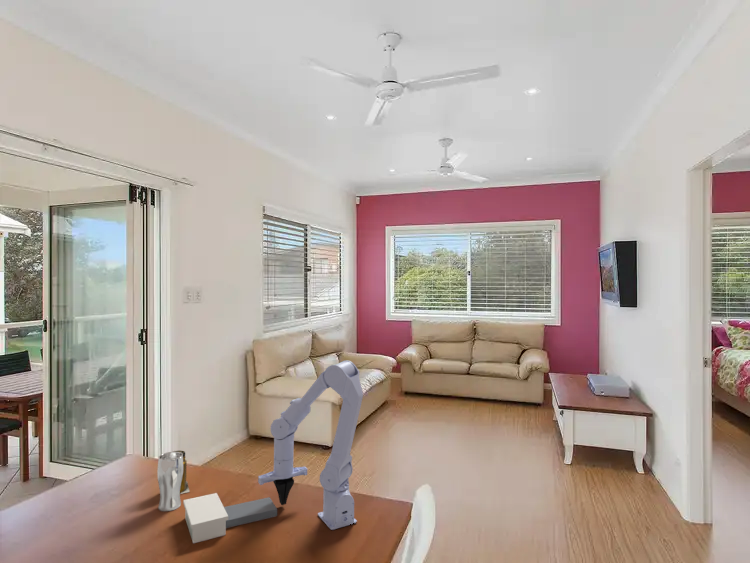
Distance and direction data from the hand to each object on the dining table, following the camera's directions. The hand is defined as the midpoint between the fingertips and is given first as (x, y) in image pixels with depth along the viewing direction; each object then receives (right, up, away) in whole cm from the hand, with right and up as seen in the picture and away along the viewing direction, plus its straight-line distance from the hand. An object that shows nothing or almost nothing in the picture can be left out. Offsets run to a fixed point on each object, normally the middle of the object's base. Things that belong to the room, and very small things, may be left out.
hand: (282, 503), depth 132 cm
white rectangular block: (-19, -1, -11) cm, 22 cm away
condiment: (-36, -1, +10) cm, 38 cm away
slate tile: (-9, -1, -5) cm, 10 cm away
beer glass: (-33, -1, -1) cm, 33 cm away
